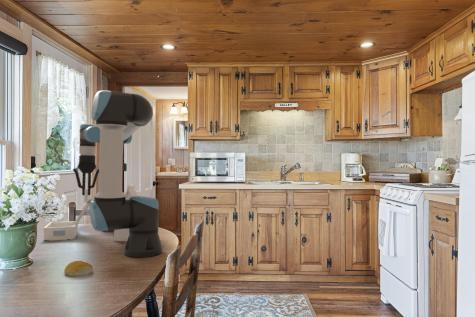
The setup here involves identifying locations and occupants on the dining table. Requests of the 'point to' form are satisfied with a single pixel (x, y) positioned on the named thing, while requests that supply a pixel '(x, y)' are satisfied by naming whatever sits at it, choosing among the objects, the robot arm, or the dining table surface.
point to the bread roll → (78, 268)
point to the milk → (124, 233)
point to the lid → (83, 211)
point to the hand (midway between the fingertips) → (86, 201)
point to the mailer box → (60, 230)
